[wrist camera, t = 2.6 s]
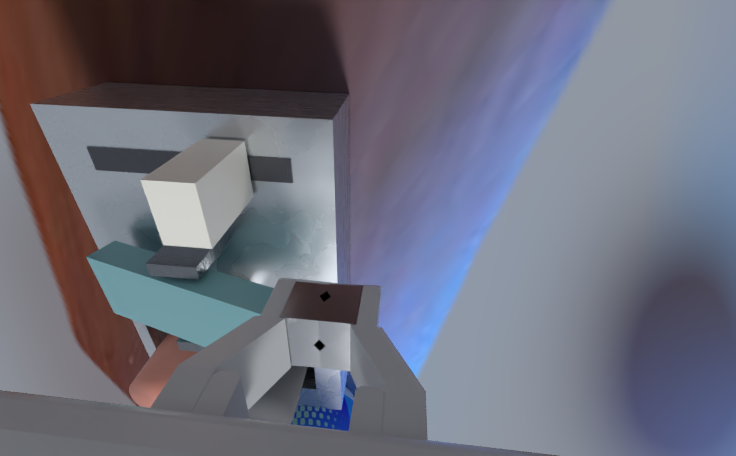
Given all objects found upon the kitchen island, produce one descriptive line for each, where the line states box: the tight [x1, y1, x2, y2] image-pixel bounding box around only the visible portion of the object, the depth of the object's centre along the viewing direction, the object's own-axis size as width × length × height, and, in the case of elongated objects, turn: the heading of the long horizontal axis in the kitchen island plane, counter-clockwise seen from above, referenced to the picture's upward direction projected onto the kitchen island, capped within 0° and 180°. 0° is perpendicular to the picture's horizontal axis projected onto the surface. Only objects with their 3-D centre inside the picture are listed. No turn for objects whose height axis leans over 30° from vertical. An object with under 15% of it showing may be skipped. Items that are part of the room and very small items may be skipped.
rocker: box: [86, 241, 274, 347], centre depth 18 cm, size 4×11×2 cm, turn 88°
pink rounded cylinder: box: [129, 333, 197, 408], centre depth 25 cm, size 4×4×6 cm
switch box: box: [30, 82, 350, 410], centre depth 23 cm, size 22×14×8 cm, turn 178°
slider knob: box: [140, 139, 254, 249], centre depth 15 cm, size 3×2×4 cm
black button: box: [248, 365, 307, 424], centre depth 25 cm, size 4×4×6 cm
